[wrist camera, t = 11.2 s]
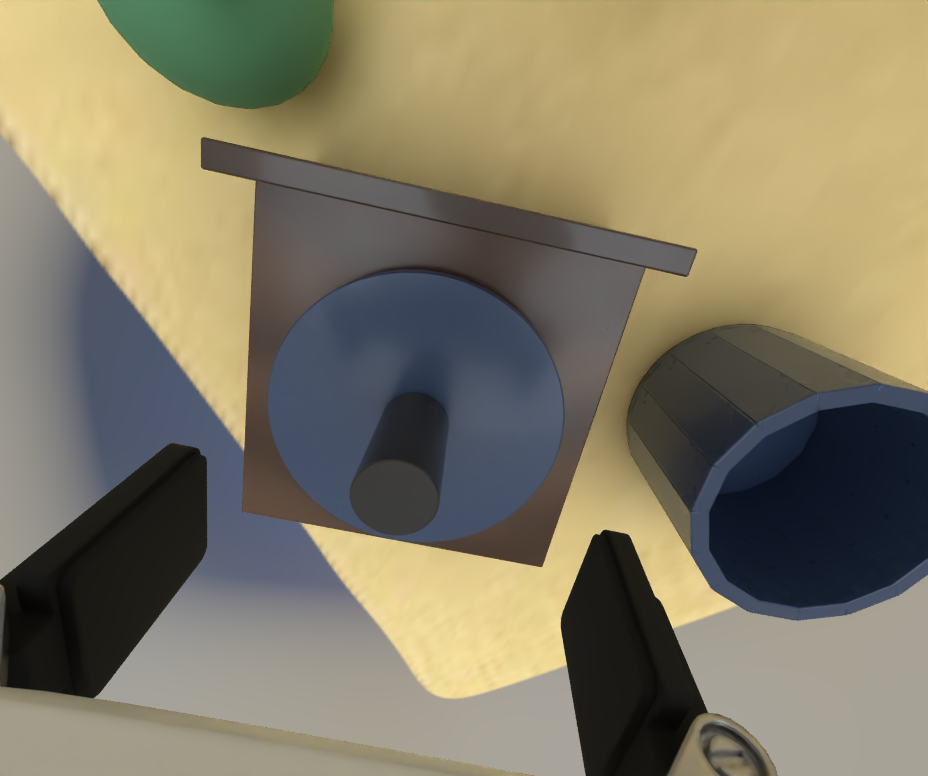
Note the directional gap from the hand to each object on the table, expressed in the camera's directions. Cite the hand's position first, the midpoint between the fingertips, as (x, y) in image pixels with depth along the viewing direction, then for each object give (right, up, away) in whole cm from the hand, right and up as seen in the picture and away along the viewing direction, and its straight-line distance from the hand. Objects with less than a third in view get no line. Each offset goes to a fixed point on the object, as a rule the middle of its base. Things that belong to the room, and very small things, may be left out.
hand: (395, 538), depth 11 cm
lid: (0, +2, +7) cm, 8 cm away
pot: (+16, +2, +14) cm, 21 cm away
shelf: (0, +6, +13) cm, 14 cm away
